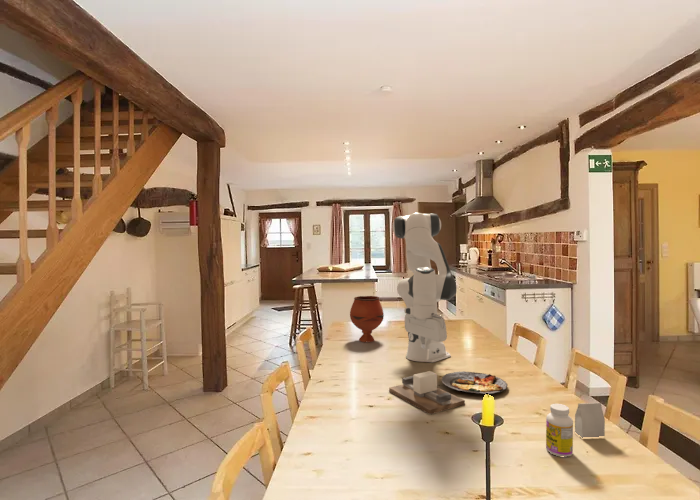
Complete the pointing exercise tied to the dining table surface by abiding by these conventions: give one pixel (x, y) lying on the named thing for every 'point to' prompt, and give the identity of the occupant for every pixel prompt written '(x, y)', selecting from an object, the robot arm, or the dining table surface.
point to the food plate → (474, 382)
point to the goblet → (366, 315)
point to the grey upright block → (589, 420)
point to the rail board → (426, 397)
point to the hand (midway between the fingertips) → (425, 348)
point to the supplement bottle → (559, 431)
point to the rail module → (424, 383)
